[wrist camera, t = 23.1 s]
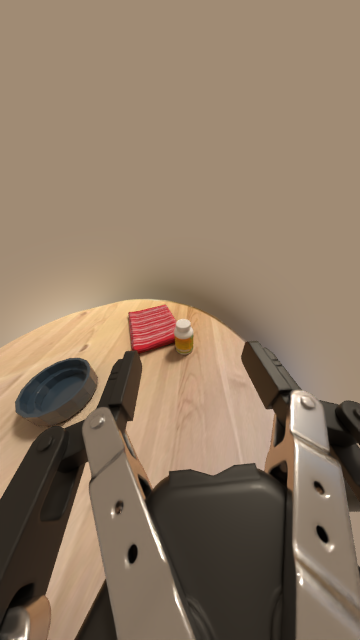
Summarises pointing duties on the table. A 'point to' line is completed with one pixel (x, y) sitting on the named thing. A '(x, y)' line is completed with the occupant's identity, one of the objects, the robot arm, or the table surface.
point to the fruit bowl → (57, 392)
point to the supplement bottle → (183, 336)
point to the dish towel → (151, 328)
